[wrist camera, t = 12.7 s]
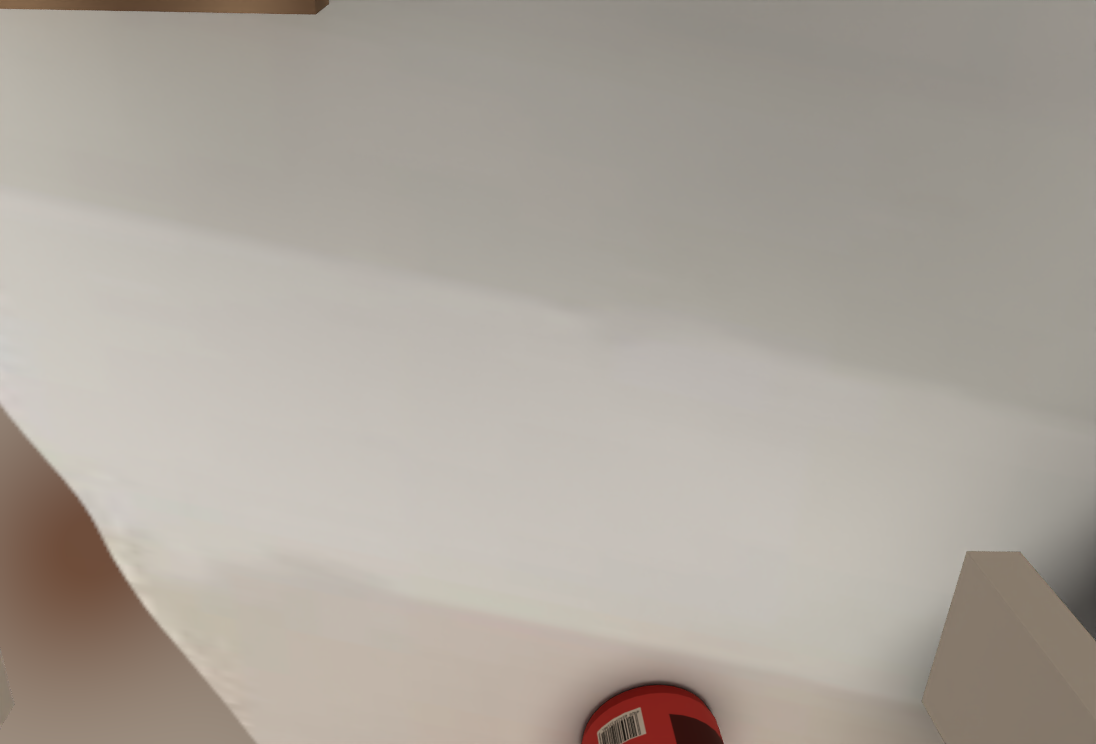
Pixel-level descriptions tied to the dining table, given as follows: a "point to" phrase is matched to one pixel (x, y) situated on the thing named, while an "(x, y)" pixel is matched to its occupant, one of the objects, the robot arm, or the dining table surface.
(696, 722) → the canned food
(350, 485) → the dining table surface
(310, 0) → the walnut slab
